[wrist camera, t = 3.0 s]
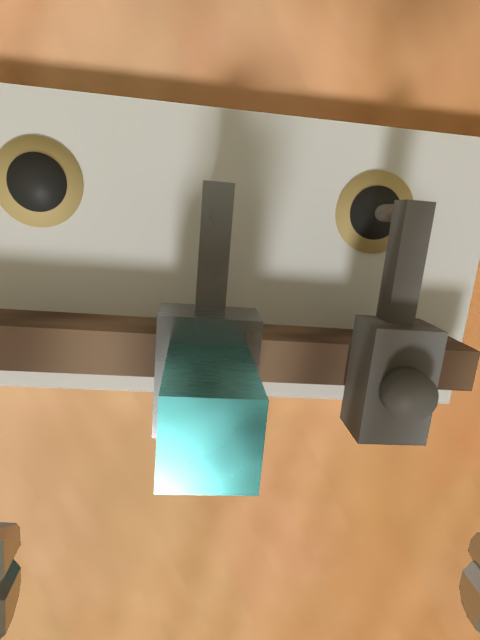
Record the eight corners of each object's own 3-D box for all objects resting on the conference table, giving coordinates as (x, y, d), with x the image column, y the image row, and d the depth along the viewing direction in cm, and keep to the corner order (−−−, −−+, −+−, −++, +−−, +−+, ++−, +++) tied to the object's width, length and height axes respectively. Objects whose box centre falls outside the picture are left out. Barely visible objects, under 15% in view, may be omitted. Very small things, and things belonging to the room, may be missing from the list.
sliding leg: (258, 190, 20) (313, 174, 11) (240, 391, 23) (271, 525, 13) (170, 182, 20) (147, 157, 10) (161, 388, 22) (135, 524, 13)
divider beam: (470, 211, 22) (581, 212, 16) (433, 394, 25) (518, 460, 18) (-131, 155, 19) (-296, 128, 13) (-108, 371, 22) (-238, 441, 15)
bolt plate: (485, 144, 23) (507, 139, 22) (434, 393, 26) (450, 405, 25) (-139, 74, 20) (-170, 62, 18) (-108, 369, 23) (-132, 382, 21)
